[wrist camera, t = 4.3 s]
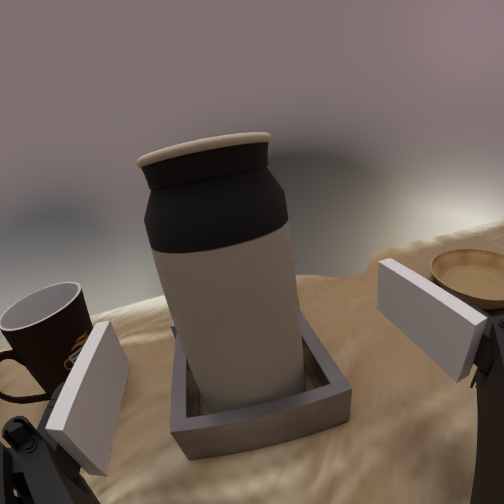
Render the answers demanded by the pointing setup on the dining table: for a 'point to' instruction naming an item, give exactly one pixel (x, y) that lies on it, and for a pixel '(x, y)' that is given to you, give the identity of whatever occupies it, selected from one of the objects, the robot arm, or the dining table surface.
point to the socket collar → (259, 408)
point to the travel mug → (227, 267)
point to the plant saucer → (472, 275)
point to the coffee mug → (46, 335)
